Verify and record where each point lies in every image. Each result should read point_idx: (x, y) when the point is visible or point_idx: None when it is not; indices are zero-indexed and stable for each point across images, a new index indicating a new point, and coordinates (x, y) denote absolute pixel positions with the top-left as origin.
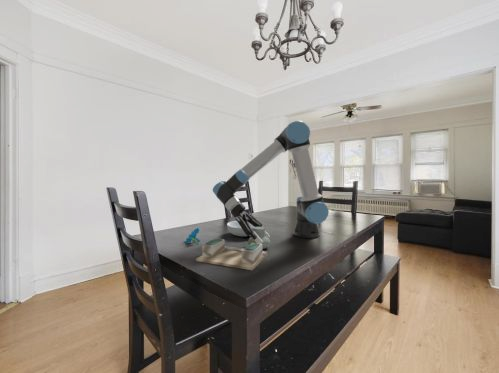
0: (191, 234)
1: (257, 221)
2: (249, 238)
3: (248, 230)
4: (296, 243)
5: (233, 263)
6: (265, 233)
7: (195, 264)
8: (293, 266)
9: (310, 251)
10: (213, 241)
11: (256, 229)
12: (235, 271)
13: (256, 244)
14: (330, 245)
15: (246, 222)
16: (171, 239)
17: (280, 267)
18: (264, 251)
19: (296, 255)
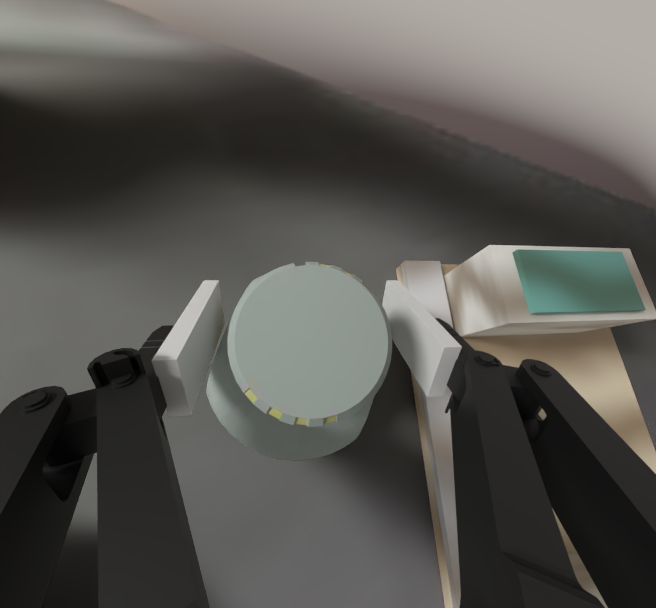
0: None
1: (21, 487)
2: (336, 443)
3: (562, 378)
4: (118, 163)
5: (611, 364)
6: (209, 313)
7: None
8: (454, 146)
9: (250, 97)
10: None
11: (390, 340)
12: (624, 328)
13: (541, 268)
14: (112, 18)
15: (556, 540)
16: None
17: (488, 184)
18: (411, 274)
19: (334, 146)
